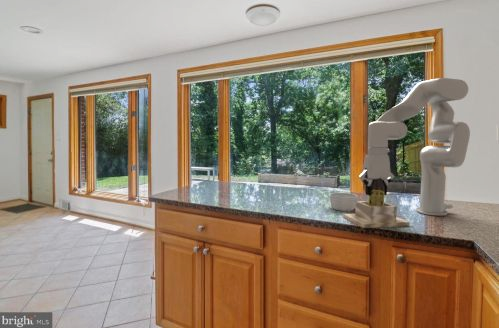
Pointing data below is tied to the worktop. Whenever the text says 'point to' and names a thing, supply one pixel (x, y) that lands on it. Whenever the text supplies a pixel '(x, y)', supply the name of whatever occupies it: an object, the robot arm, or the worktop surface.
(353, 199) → the ramekin
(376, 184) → the sauce bottle
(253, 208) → the worktop surface
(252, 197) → the worktop surface
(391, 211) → the bottle caddy
